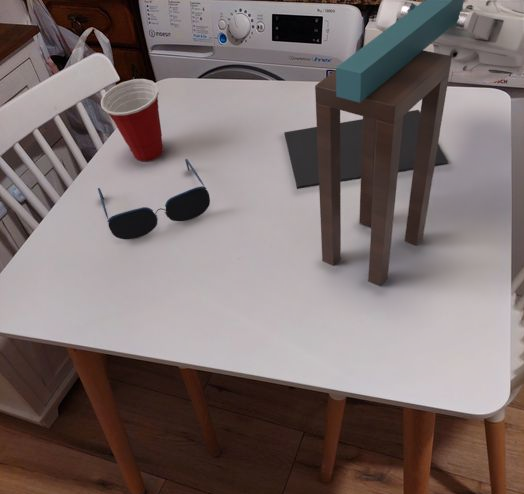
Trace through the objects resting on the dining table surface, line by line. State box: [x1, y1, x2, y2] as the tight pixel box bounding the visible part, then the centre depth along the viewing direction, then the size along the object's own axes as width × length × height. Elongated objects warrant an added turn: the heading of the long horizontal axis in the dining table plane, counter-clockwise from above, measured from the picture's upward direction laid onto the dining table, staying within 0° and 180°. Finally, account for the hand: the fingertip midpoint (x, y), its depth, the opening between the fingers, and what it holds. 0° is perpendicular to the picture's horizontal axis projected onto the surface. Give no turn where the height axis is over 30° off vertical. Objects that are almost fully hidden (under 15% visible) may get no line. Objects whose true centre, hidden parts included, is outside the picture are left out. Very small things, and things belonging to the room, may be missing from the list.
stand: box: [314, 49, 452, 287], centre depth 67 cm, size 12×10×26 cm
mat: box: [283, 109, 449, 189], centre depth 93 cm, size 26×18×1 cm
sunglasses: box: [97, 158, 211, 241], centre depth 89 cm, size 17×15×5 cm
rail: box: [335, 0, 464, 103], centre depth 57 cm, size 22×3×3 cm, turn 140°
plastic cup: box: [100, 78, 164, 162], centre depth 96 cm, size 11×11×12 cm
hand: (432, 14), depth 59 cm, fingers open, 6 cm apart
